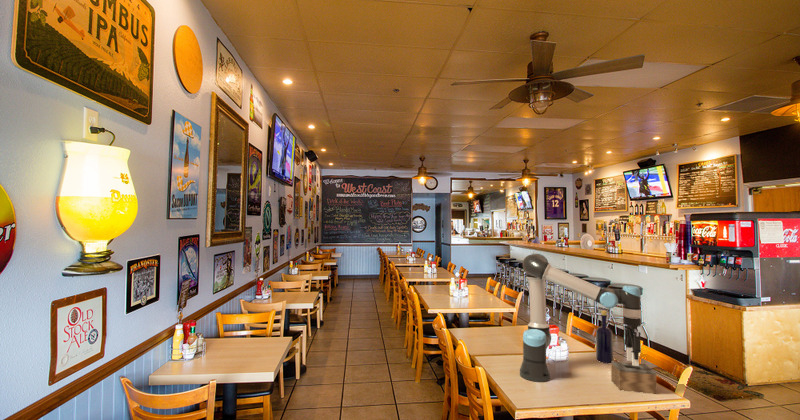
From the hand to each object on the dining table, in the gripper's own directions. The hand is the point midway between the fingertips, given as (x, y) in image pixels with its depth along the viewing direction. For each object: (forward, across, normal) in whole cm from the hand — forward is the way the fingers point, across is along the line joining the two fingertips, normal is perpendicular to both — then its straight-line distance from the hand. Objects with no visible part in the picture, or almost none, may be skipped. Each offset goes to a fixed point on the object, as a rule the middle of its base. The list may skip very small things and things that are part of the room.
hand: (632, 363), depth 185 cm
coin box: (+12, 0, 0) cm, 12 cm away
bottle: (+12, +38, +2) cm, 40 cm away
